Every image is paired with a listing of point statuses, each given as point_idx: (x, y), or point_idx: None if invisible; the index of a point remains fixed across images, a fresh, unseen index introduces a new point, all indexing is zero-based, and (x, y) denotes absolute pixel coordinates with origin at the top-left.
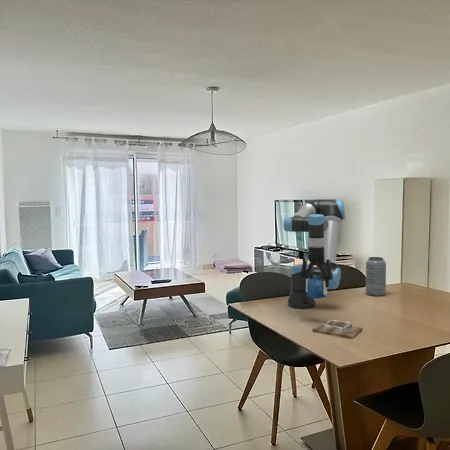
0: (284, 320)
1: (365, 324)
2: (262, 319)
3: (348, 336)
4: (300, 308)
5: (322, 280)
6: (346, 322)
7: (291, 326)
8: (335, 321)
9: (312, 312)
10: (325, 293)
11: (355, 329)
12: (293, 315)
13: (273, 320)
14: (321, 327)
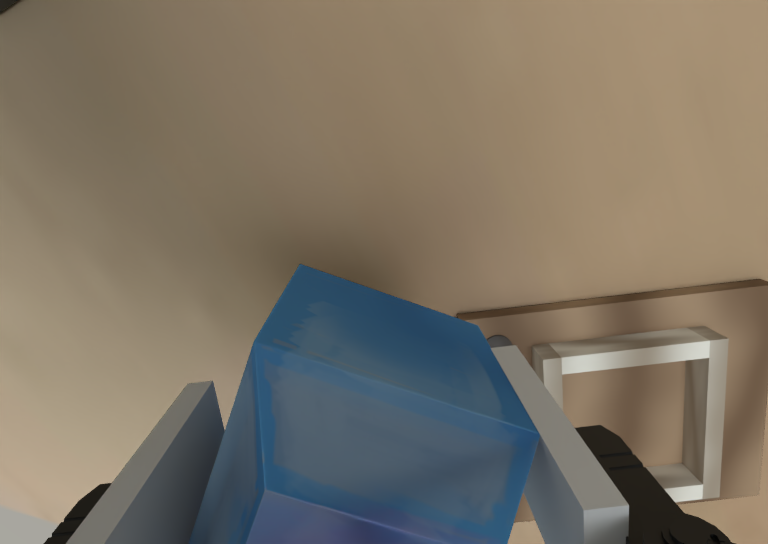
0: None
1: (741, 107)
2: (32, 503)
3: (729, 494)
4: (4, 8)
5: (503, 542)
6: (681, 351)
7: None
8: (588, 369)
9: (183, 54)
10: None
11: (739, 354)
12: (123, 264)
13: (108, 474)
14: None
